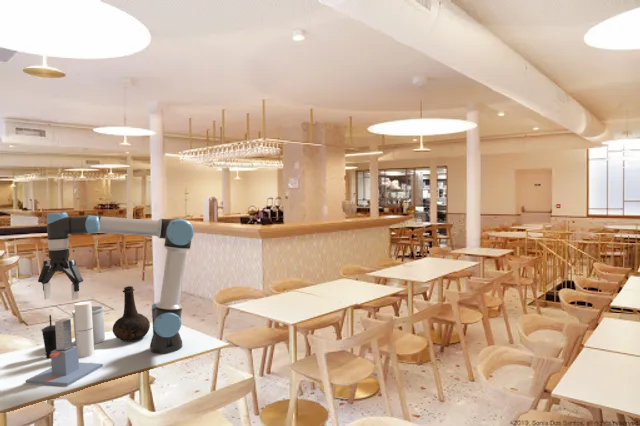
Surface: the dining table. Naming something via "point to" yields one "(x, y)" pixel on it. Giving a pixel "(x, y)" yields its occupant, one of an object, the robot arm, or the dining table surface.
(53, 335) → the drinking cup
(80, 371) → the stand
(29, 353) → the dining table surface
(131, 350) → the dining table surface
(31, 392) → the dining table surface
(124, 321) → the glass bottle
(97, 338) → the utensil holder
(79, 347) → the cylindrical container
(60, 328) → the column
